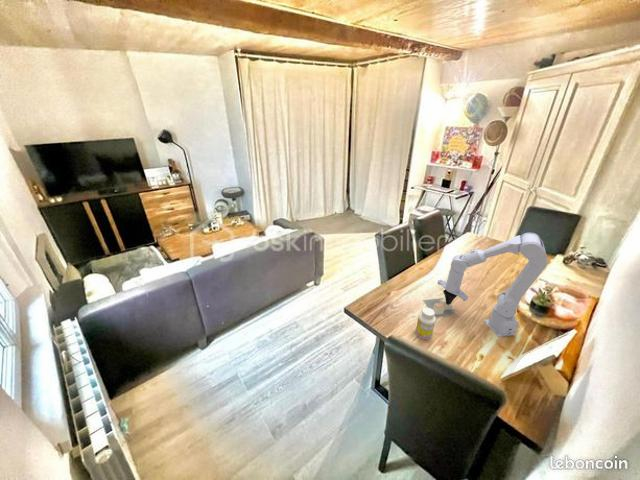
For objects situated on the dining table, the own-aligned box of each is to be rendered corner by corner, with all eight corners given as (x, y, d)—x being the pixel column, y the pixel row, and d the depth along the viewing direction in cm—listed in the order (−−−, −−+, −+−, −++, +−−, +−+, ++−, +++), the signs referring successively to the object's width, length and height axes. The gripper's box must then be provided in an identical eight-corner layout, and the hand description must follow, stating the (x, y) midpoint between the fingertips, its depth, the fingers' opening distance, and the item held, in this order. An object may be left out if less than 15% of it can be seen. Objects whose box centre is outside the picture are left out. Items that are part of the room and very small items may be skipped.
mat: (457, 315, 115) (457, 314, 115) (435, 317, 114) (435, 317, 114) (442, 298, 126) (443, 298, 126) (422, 300, 125) (422, 300, 125)
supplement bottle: (418, 325, 110) (423, 303, 105) (433, 332, 106) (439, 310, 101) (413, 335, 106) (417, 312, 100) (428, 342, 102) (434, 319, 96)
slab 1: (443, 314, 116) (445, 306, 113) (435, 315, 115) (437, 306, 113) (440, 310, 118) (442, 302, 115) (432, 311, 117) (434, 303, 115)
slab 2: (452, 305, 117) (446, 298, 122) (445, 306, 117) (439, 299, 121) (451, 309, 118) (445, 302, 123) (444, 310, 118) (438, 303, 122)
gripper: (475, 286, 107) (467, 310, 113) (447, 270, 119) (441, 292, 125) (464, 291, 104) (457, 315, 110) (436, 274, 116) (431, 296, 122)
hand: (448, 303), depth 117 cm, fingers closed
